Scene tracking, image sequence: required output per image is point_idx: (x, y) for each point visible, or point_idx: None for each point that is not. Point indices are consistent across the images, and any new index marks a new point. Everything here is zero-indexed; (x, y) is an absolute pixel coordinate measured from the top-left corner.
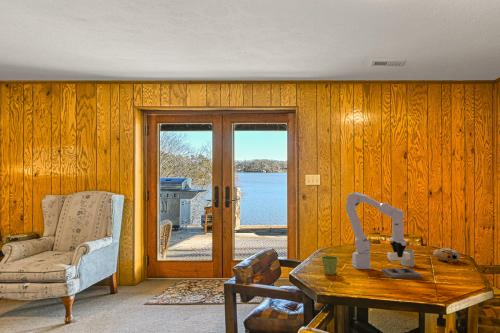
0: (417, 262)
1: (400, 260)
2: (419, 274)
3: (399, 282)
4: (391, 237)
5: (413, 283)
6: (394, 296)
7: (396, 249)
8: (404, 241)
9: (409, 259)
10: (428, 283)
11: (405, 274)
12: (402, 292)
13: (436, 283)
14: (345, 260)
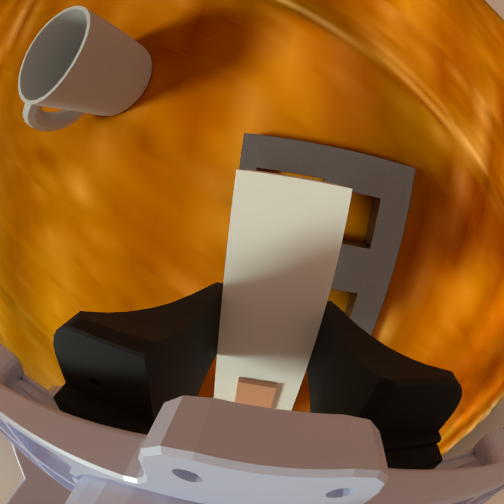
0: (96, 14)
1: (78, 112)
2: (412, 179)
3: (422, 347)
4: (17, 447)
5: (460, 292)
6: (478, 408)
7: (203, 348)
8: (480, 488)
9: (123, 65)
10: (485, 215)
11: (384, 276)
12: (481, 381)
13: (492, 173)
14: (50, 351)
